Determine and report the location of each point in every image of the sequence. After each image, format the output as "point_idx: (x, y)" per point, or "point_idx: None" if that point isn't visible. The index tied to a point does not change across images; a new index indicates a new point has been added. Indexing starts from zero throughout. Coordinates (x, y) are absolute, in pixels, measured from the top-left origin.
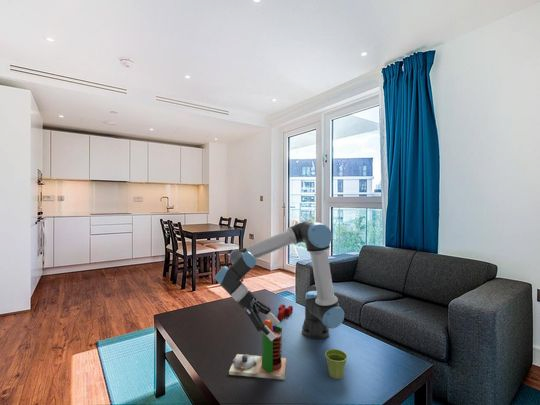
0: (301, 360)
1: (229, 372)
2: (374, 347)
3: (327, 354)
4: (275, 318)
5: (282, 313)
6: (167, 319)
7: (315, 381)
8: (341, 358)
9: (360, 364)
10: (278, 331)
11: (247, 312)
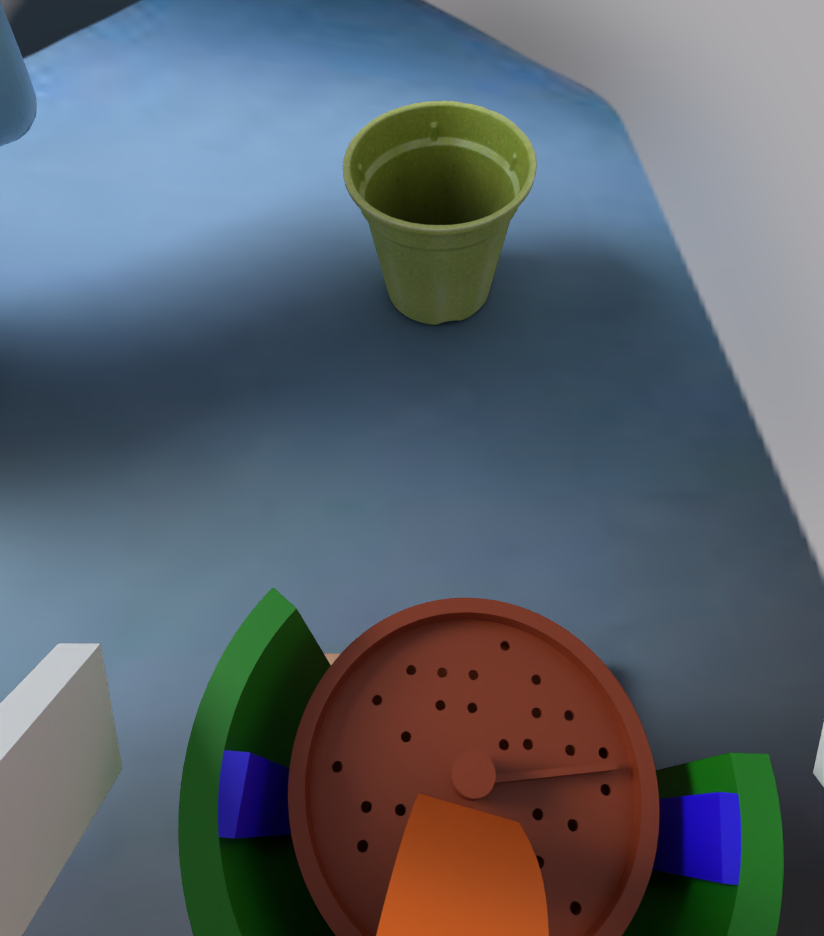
0: (274, 520)
1: None
2: (111, 76)
3: (398, 233)
4: (11, 755)
5: None
6: None
7: (546, 412)
8: (390, 176)
9: (306, 158)
10: (345, 672)
11: None
